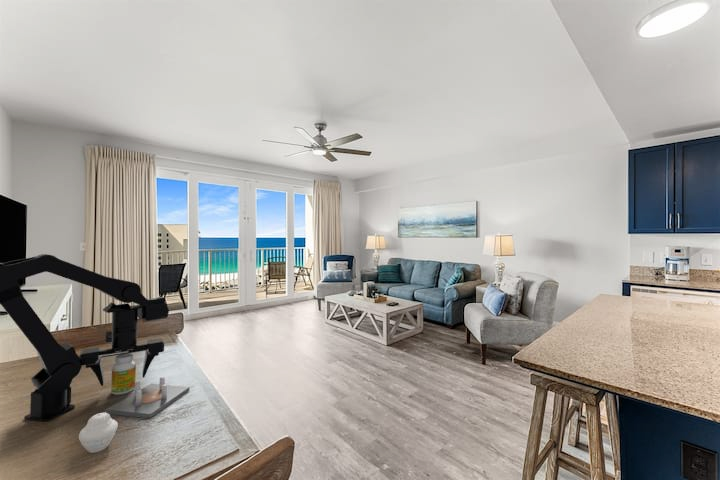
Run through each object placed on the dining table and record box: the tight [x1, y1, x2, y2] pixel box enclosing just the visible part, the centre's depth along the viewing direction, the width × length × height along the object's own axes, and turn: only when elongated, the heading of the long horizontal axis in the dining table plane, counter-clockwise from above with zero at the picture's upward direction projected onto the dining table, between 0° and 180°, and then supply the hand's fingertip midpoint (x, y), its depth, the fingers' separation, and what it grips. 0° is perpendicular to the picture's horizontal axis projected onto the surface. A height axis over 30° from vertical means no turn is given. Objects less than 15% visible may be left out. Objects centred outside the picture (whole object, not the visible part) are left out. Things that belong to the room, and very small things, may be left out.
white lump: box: [78, 412, 119, 454], centre depth 64 cm, size 6×6×7 cm
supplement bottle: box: [110, 353, 137, 395], centre depth 88 cm, size 5×5×10 cm
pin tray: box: [105, 376, 190, 419], centre depth 82 cm, size 14×12×4 cm
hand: (123, 381), depth 88 cm, fingers open, 9 cm apart
